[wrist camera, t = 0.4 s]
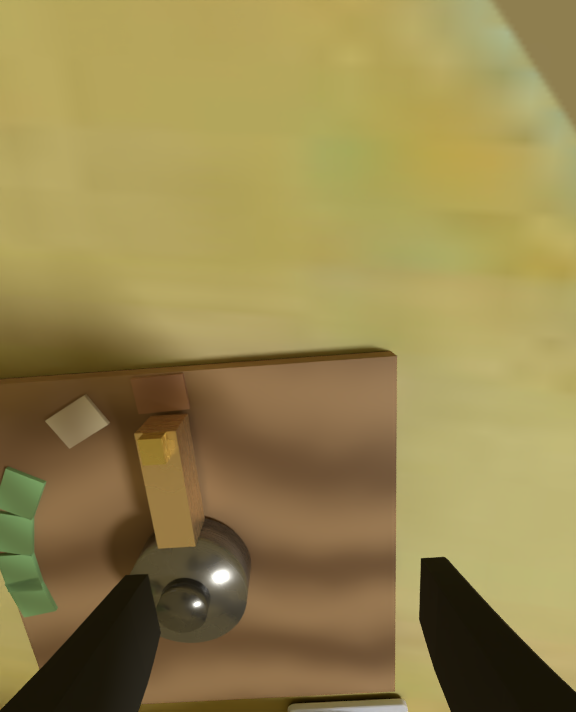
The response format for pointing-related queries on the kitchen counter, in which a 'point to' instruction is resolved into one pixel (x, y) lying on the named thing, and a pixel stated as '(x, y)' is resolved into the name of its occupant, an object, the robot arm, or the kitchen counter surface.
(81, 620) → the brown flat square slab
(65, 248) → the kitchen counter surface
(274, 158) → the kitchen counter surface
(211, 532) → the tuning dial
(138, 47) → the kitchen counter surface
